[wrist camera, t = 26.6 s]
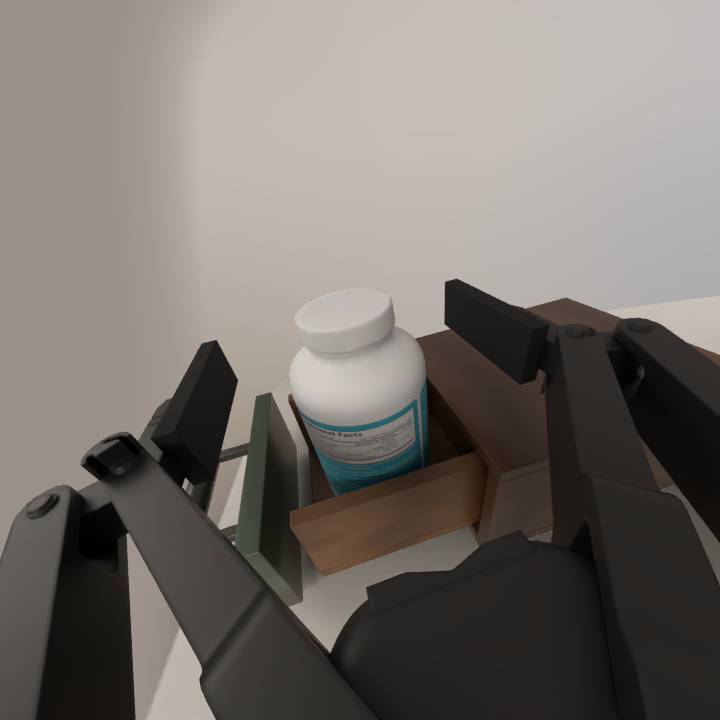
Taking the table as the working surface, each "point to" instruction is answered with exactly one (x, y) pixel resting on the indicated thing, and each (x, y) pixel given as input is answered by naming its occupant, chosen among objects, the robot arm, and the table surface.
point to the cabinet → (510, 422)
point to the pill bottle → (360, 389)
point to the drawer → (342, 501)
